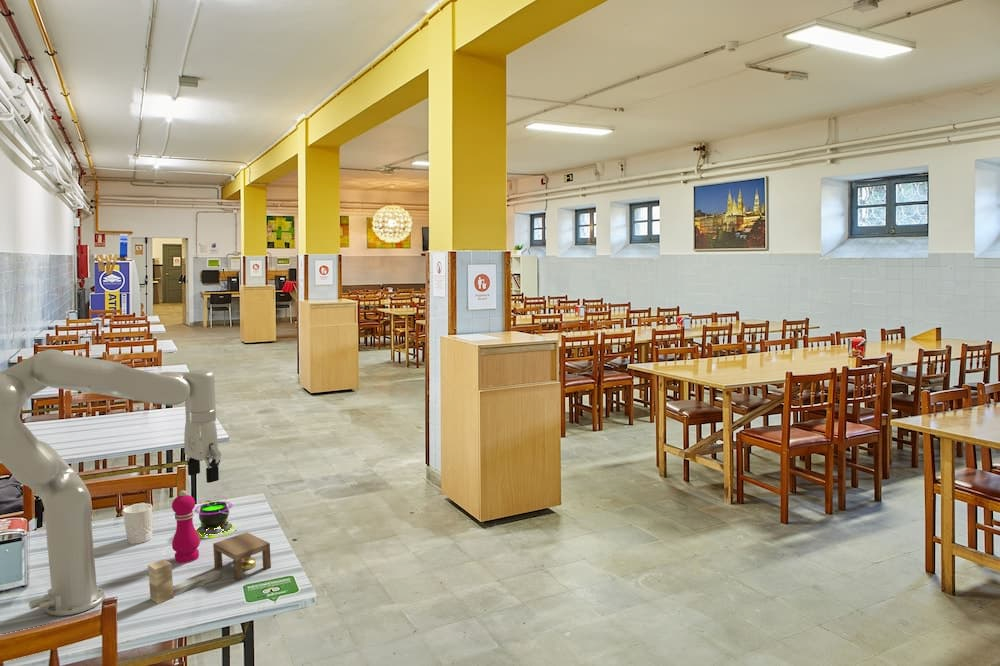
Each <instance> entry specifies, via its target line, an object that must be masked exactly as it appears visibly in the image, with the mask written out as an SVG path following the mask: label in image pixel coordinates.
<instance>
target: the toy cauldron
mask: <svg viewBox="0 0 1000 666" xmlns="http://www.w3.org/2000/svg"><path fill="white" fill-rule="evenodd" d="M215 494H216V495H218V496H214V498H216V497H221V498H223V496H221V495H220V493H217V492H215ZM208 496H210V493H209V494H208V495H207V494H206V495H205V498H204V499H201V500H200V501H199V505H198V506H196V507H194V509H193V511H194V513H195V514H198V519H199V521H200V523H199V524H200V525H201V526H200V527H199V528H198V529H197V530H196V532H197V534H198V536H199V539H200V538H204V537H205V535H206V534H208V535H206V536H208V539H213V538H212V537H217V538H219V537H220V536H215V535H209V534H218V533H220V532H221V531H222V530H221V529H224V531H226V532H228V530H230V528H231V529H234V526H232V524H231V523H229V522H228V521H227V519H228V518H229V515H230V509H232V508H233V506H234V504H233V503H231V502H230V501H229V502H228V501H227V497H225V496H224V498H225V500H223V501H220V500H219V501H211V502H207V503H203V504H202V503H201V502H202V501H203V500H207V499H210V497H208ZM227 505H228V506H227ZM228 523H229V524H228ZM219 526H220V527H221V529H215V530H214V528H217V527H219ZM208 528H209V529H208ZM206 529H208V530H207V531H206ZM224 531H222V533H223V534H225V536H228V535H230V533H231V534H233V533H232V532H231V531H229V532H228V533H229V534H228V535H227V534H226V533H225V532H224ZM199 533H200V534H201V535H202V536H201V535H200V534H199ZM204 533H205V534H204ZM225 536H224V535H222V537H225ZM220 538H221V537H220Z"/></svg>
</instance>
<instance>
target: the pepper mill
mask: <svg viewBox="0 0 1000 666" xmlns="http://www.w3.org/2000/svg"><path fill="white" fill-rule="evenodd" d="M195 506H196V501H195V498H194V497H193V496H191V495H189V494H187V491H186V490H184V489H182V490H180V491H179V496H178V495H177V496H176V497H175V498H174V499H173V501H172V503H171V509H172V511H173V512H174V519H175V520H176V528H175V533H174V535H173V538H172V542H171V548H172V550H173V551H174V552H175V553H174V561H175V562H177V563H181V564H185V563H190V562H192V561H196V560H197V559H198V558H199V556H200V551H199V549H198V548H199V546H200V544H201V540H200V538H199V536H198V534H197V532H196V530H195V528H194V526H195V525H194V521H193V517H194V516H195V514H194V513H195V511H194V510H195V508H196V507H195Z"/></svg>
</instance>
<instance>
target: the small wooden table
mask: <svg viewBox="0 0 1000 666" xmlns="http://www.w3.org/2000/svg"><path fill="white" fill-rule="evenodd" d="M212 546H213V562H214V563H213V564H214V569H215V570H219V569H222V568H223V555H225V556H227V558H229V559H232V561H233V563H232V564H233V579H234V580H235V581H239V580H242V579H243V571H242V562H241V559H243V558H245V557H251V556H253V555H256V554H258V553H259V554H260V553H262V567H263V568H262V569H265V570H268V569H271V567H272V566H271V565H272V563H271V562H272V561H271V560H272V559H271V543H270V542H268V541H267V540H264V539H262V538H260V537H257V536H255V535H254V534H252V533H250V532H247V531H246V532H243V533H239V534H238V535H234V536H231V537H229V538H225V539H223V540H220V541H217V542H213V545H212Z"/></svg>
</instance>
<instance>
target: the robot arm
mask: <svg viewBox="0 0 1000 666" xmlns="http://www.w3.org/2000/svg"><path fill="white" fill-rule="evenodd" d="M215 381H216V380H215V374H214V372H213V371H211V370H207V369H200V370H199V369H197V370H191V371H183V372H182V371H162V372H160V373H155V372H149V371H144V370H141V369H137V368H133V367H131V366H129V365H126V364H124V363H121V362H116V361H113V360H108V359H100V358H99V359H98V358H93V357H88V356H87V357H86V356H81V355H76V354H70V353H65V352H63V351H62V350H58V349H54V348H53V349H51V348H50V349H49V348H48V349H44V350H42V351H39V352H37V353H36V354H33V355H32V356H30V357H28V358H26V359H24V360H21V361H20V362H18V363H15V364H13V365H11V366H10V367H7V368H6V369H3V370H2V371H0V463H1V464H2V465H3V466H4V467H5V468H6V469H7V470H8V471H9V472H10V473H11V475H12V476H13V477H14V479H16V481H17V482H19V484H21V485H23V486H26V487H28V488H29V489H31V490H32V492H34V494H36V496H38V497H39V498H40V500H41V502H42V505H43V508H44V517H45V533H46V545H47V546H46V547H47V552H48V553H47V555H48V567H49V576H50V577H49V578H50V587H51V588H50V589H48V590H47V593H46V594H44V595H43V596H42V597H40V598H35V599H33V600H29V602H28V606H29V609H30V610H34V609H36V608H38V609H39V610H43V609H45V612H46V613H47V614H48V615H51V616H57V617H58V616H59V617H62V616H71V615H76V614H79V613H83V612H86V611H89V610H90V609H93V608H95V607H97V606H98V605H99V604H101V603H102V602H101V600H102V599H103V600H104V599H105V591H104V589H102V588H100V587H97V575H96V562H95V549H94V539H93V538H94V537H93V527H92V526H93V525H92V524H93V523H92V522H93V521H92V497H91V494H90V491H89V489H88V487H87V486H86V484H85V483H84V481H83V479H82V478H81V477H80V475H79V474H78V473H77V472H76V471H75V470H74V468H72V467H71V466H70V465H69V463H67V462H66V460H65V459H64V458H62V456H61V455H60V454H59V453H58V452H57V451H56V450H55V449H54V448H53V446H52V445H50V444H49V443H47V442H45V441H42V440H39V439H38V438H37V437H36V436H35V435H34V434H33V432H32V431H31V430H30V429H29V428H28V427H27V426H26V425H25V424H24V422H23V421H22V420H21V411H22V410H23V408H24V406H25V404H26V403H27V399H28V398H30V397H32V396H33V395H36V394H37V393H39V392H41V391H42V390H44V389H47V388H48V387H49V388H53V389H58V390H59V389H60V390H67V391H74V392H75V391H76V392H82V393H90V394H96V395H103V396H109V397H113V398H119V399H127V400H132V401H138V402H142V403H143V402H144V403H149V404H158V405H164V406H178V405H181V404H183V403H184V404H185V405H184V407H185V408H184V409H185V410H184V411H185V425H184V426H185V427H184V437H183V438H184V441H183V443H184V444H183V448H184V455H185V456H186V461H187V475H188V476H194V475H199V474H200V473H201V462H203V461H205V464H206V468H205V474H206V478H205V479H206V483H207V484H208V483H213V482H217V481H219V480H220V479H219V477H220V476H219V474H220V473H219V467H220V463H221V457H222V453H221V452H220V450H219V441H218V432H217V425H216V421H217V414H216V413H217V411H216V410H217V407H216V389H215V388H216V385H215V384H216V382H215ZM210 460H211V461H210Z"/></svg>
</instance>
